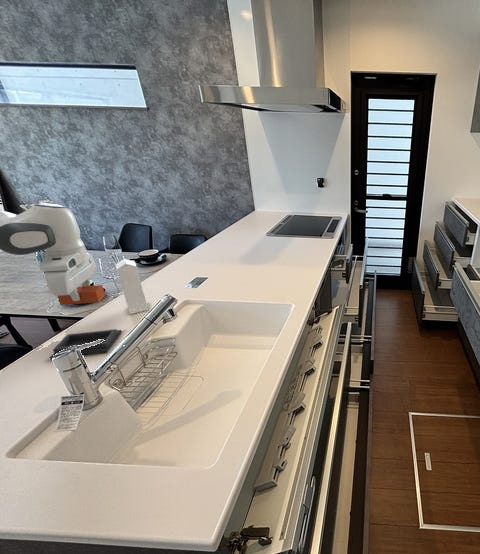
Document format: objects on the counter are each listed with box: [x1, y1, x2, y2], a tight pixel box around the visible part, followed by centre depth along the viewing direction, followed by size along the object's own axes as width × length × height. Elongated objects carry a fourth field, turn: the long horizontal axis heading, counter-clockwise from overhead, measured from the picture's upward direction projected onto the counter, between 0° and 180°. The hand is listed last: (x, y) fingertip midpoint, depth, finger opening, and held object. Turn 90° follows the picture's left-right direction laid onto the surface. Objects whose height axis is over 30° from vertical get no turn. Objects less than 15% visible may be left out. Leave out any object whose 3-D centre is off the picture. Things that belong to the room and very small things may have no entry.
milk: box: [115, 255, 149, 315], centre depth 117 cm, size 6×6×22 cm
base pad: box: [49, 328, 122, 361], centre depth 99 cm, size 14×12×2 cm
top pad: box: [56, 284, 106, 306], centre depth 100 cm, size 10×5×4 cm, turn 109°
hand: (82, 295), depth 100 cm, fingers closed on top pad, 5 cm apart
